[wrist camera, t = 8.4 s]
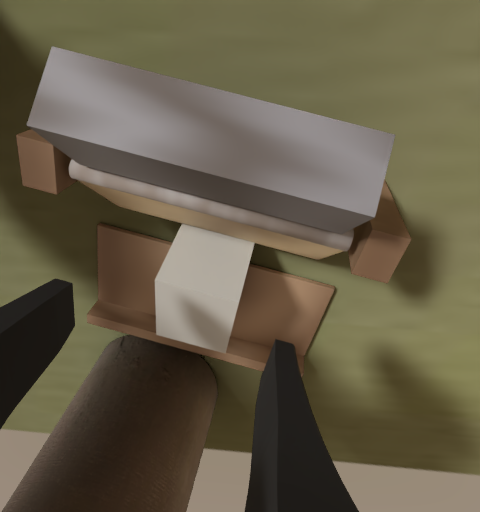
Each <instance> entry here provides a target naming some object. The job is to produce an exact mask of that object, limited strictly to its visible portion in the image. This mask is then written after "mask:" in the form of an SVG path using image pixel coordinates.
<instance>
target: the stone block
mask: <svg viewBox="0 0 480 512" xmlns="http://www.w3.org/2000/svg"><path fill="white" fill-rule="evenodd" d="M254 244H255V243H254V242H250V241H246V240H243V239H239V238H235V237H231V236H227V235H224V234H220V233H216V232H212V231H208V230H205V229H201V228H197V227H193V226H189V225H186V224H182V225H181V227H180V229H179V231H178V233H177V235H176V237H175V239H174V241H173V243H172V245H171V247H170V249H169V252H168V254H167V256H166V258H165V260H164V262H163V264H162V266H161V268H160V270H159V272H158V274H157V276H156V279H155V307H156V335H159V336H163V337H166V338H170V339H174V340H177V341H181V342H185V343H188V344H192V345H196V346H199V347H203V348H207V349H210V350H214V351H218V352H221V353H226V350H227V346H228V342H229V338H230V335H231V331H232V327H233V323H234V319H235V316H236V312H237V308H238V304H239V301H240V297H241V293H242V289H243V285H244V282H245V278H246V274H247V270H248V266H249V263H250V259H251V255H252V251H253V248H254Z"/></svg>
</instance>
